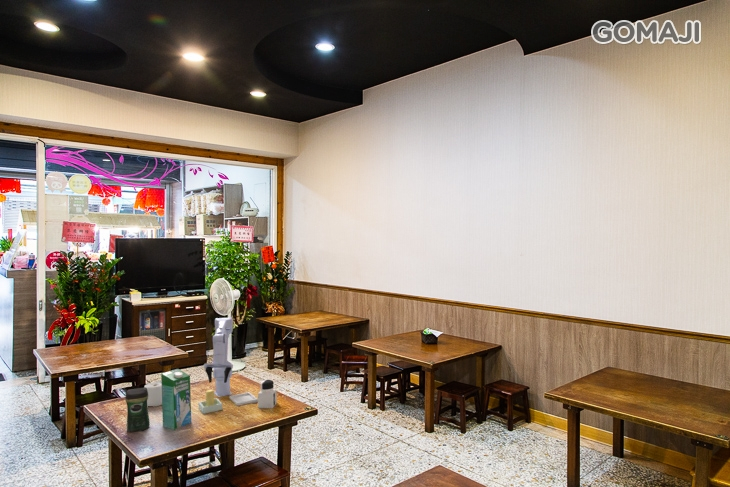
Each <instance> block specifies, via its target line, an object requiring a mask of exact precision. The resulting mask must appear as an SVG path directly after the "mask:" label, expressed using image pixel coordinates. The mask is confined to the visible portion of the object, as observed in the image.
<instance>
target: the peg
mask: <svg viewBox="0 0 730 487" xmlns="http://www.w3.org/2000/svg"><path fill="white" fill-rule="evenodd" d="M214 392H215V390H214V389H209V390H205V401H206V406H211V405H215V404H214V399H215V394H214Z"/></svg>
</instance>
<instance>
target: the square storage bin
mask: <svg viewBox="0 0 730 487" xmlns="http://www.w3.org/2000/svg"><path fill="white" fill-rule="evenodd" d="M197 403H198V409H199V411H200V412H201V413H202V414H208V413H213V412H214V413H215V412H218V411H222V410H223V409H224V408H223V402H221V400H220V399H219V397H218V398H214V404H215V405H211V406H206V400H202V401H198V402H197Z"/></svg>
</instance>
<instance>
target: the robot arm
mask: <svg viewBox="0 0 730 487" xmlns="http://www.w3.org/2000/svg"><path fill="white" fill-rule="evenodd" d="M233 327H234V320H233V317H231V316H230V317H219V318H218V317H216V318H215V319H214V329H215V332H214V335H212V348H213V353H212V362H211V363H204V364H203V369H205V370H204V372H205V373H206V375H207V377H208V378H207V379H208V383H209V384H210V383H212V380H213V378H214V380H215V382H214V383H215V391H214V396H217V397H218V398H221V397H225V396H232V395H233V393H232V392H231V378H232V376H233V368H234V364H232V362H230V361H229V360H228V355H229V354H228V353H229V352H228V349H229V337H230V335H231V334H232V333H233V331H234V330H233ZM212 377H213V378H212Z"/></svg>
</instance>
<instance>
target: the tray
mask: <svg viewBox="0 0 730 487" xmlns="http://www.w3.org/2000/svg"><path fill="white" fill-rule="evenodd" d="M228 396H229V400H230V401H232V403H233V404H234V405H236V407H238V406H242V405H247V404H256V403H257V404H258V397H256V396H255V395H254V394H253V393H251V392H249V391H247V392H243V393H238V394H231V395H228Z"/></svg>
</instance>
